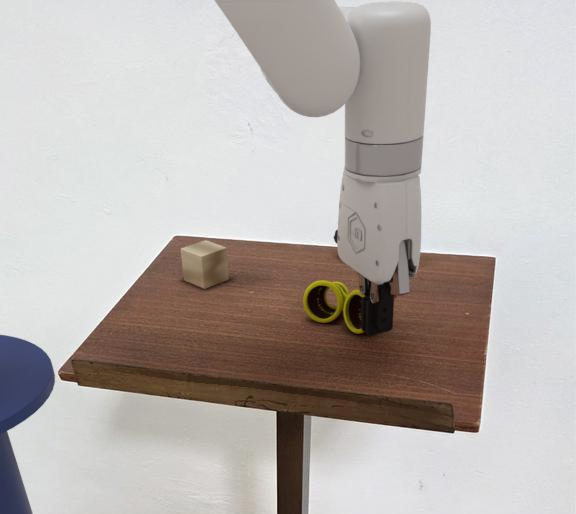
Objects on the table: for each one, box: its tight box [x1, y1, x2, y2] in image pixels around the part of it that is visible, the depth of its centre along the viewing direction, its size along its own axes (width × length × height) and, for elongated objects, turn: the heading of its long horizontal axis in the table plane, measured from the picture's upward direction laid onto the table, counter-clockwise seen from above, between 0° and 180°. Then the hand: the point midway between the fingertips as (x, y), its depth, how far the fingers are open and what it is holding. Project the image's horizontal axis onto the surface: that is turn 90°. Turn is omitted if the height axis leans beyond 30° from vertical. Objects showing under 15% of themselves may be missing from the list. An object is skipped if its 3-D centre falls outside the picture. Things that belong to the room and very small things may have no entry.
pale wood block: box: [180, 239, 230, 290], centre depth 100 cm, size 4×4×4 cm
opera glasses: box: [302, 279, 365, 335], centre depth 89 cm, size 10×5×5 cm, turn 53°
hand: (376, 330), depth 84 cm, fingers closed
